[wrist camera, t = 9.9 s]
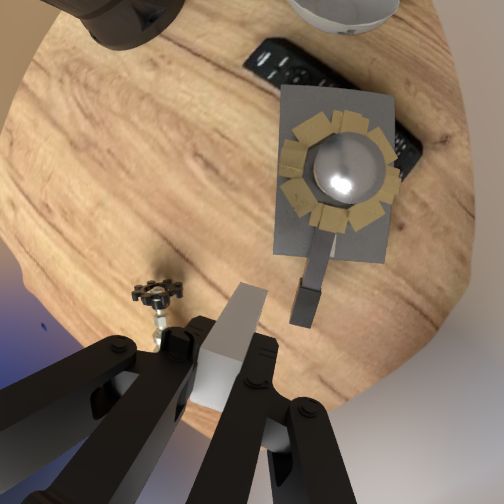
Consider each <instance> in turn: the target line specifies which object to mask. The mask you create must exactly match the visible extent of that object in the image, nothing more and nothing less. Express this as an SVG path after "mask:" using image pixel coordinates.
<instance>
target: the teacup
mask: <svg viewBox="0 0 504 504" xmlns="http://www.w3.org/2000/svg"><path fill="white" fill-rule="evenodd" d="M287 1H288V3H289V4H290V6H291V7H292V8H293V10H294V11H295V12H296V13H297V14H298V15H299V16H300V17H301V18H302V19H303V20H304V21H306V22H307V23H309V24H310V25H312V26H313V27H315V28H317V29H320V30H322V31H325V32H328V33H331V34H337V35H357V34H362V33H365V32H368V31H371V30H373V29H375V28H377V27H378V26H380V25H381V24H383V23H384V22H385V21H386V20H387V19H388V18H389V17H390V16H391V15H393V14H394V13H395V11H396V10H397V9H398V6H399V3H400V0H287Z"/></svg>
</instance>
